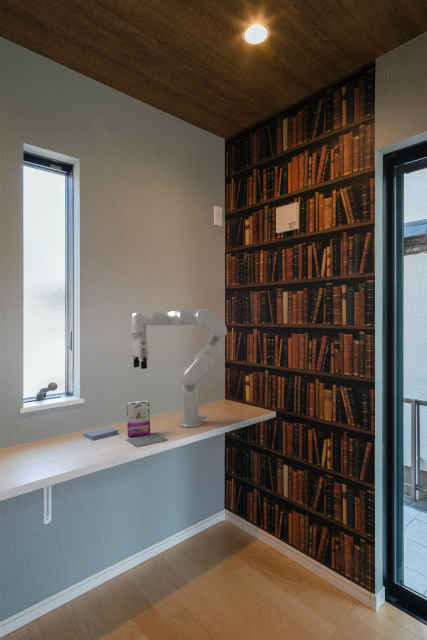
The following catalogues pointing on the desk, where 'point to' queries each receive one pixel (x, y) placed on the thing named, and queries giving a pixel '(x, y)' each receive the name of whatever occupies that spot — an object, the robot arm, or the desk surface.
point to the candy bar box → (138, 418)
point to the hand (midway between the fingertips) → (140, 367)
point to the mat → (147, 440)
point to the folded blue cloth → (100, 433)
